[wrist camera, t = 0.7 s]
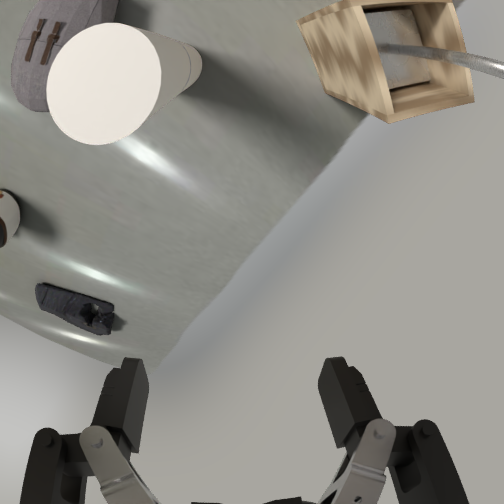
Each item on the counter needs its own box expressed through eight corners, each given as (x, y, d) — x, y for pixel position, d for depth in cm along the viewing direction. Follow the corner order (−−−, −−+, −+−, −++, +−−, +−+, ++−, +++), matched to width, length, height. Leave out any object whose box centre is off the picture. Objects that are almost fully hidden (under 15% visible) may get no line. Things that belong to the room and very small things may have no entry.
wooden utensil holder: (295, 20, 27) (348, -2, 13) (368, 7, 25) (450, -5, 11) (325, 93, 34) (388, 123, 20) (391, 75, 32) (474, 102, 18)
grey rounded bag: (61, -17, 17) (17, 96, 27) (31, -23, 11) (-14, 110, 21) (140, -3, 23) (84, 119, 33) (119, -15, 16) (57, 135, 26)
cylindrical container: (213, 63, 31) (190, 67, 11) (177, 100, 34) (111, 167, 14) (174, 33, 27) (93, 2, 8) (140, 72, 30) (29, 107, 11)
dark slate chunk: (36, 269, 50) (28, 284, 47) (118, 303, 59) (114, 319, 55) (39, 307, 58) (33, 320, 54) (110, 335, 66) (106, 350, 63)
